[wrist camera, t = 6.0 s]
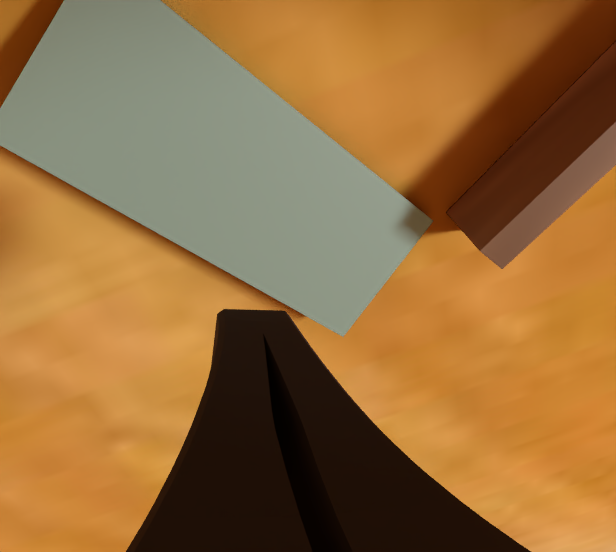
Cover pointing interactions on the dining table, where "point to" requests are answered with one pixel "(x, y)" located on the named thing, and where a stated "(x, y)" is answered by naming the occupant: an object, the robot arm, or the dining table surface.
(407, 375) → the dining table surface
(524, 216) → the cart frame
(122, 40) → the panel
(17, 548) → the dining table surface
